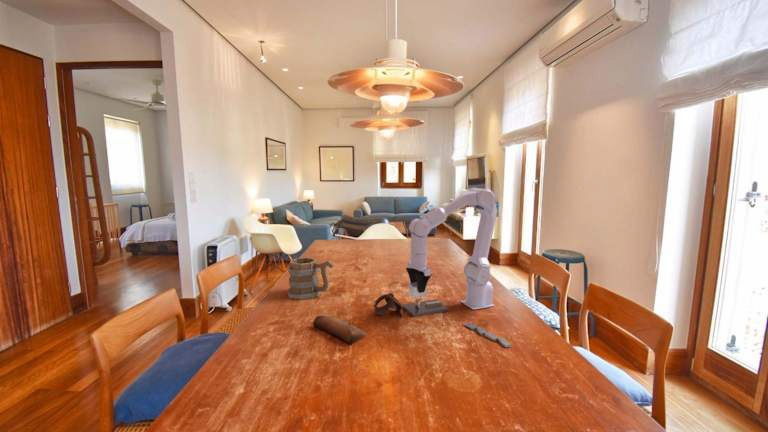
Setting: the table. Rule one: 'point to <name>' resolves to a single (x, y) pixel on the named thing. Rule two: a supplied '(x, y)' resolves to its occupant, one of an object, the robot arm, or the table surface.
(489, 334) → the chain
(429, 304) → the keeper
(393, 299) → the pottery mug
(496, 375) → the table surface
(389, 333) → the table surface
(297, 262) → the tankard
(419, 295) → the end link
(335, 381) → the table surface
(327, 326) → the sunglasses case
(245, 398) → the table surface
